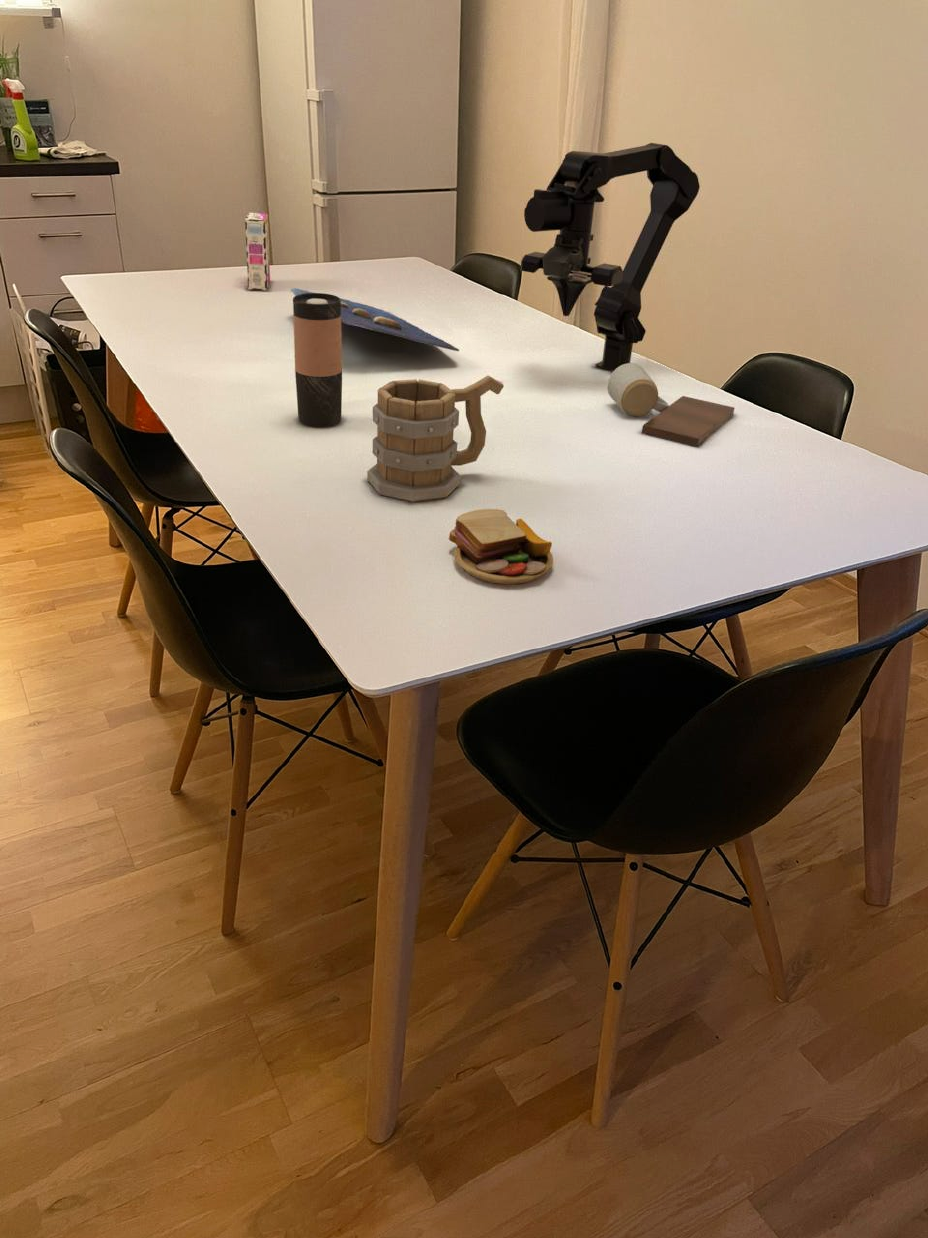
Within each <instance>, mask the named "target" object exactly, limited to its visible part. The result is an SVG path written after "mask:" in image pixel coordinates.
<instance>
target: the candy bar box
mask: <svg viewBox="0 0 928 1238" xmlns="http://www.w3.org/2000/svg"><path fill="white" fill-rule="evenodd" d="M244 227H245V228H244V229H245V243H246V244H245V247H246V248H245V249H246V266H247V267H246V268H247V269H246V271H247V290H248V291H257V292H259V291H262V292H267V291H268V289H269V286H270V282H271V269H270V268H271V265H270V242H269V241H270V239H269V235H270V234H269V214H268V213H263V212H248V214H247V215H246V216H245V219H244Z"/></svg>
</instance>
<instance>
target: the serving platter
mask: <svg viewBox="0 0 928 1238" xmlns="http://www.w3.org/2000/svg"><path fill="white" fill-rule="evenodd" d="M289 292H292V294H293V295H294V297H295V296H296V295H300V294H306V293H314V291H309V290H305V289H300V288H295V287H294V288H290V289H289ZM339 298H340V300H341V323H344V324H346V325H349V326H355V327H359V328H362V329H363V328H364V329H367V330H370V331H375V332H379V333H382V334H383V333H384V334H388V335H390V336H394V337H395V336H396V337H399V338H403V339H406V340H410V341H414V342H417V343H421V344H425V345H430V346H433V347H438V348H442V349H447V350H450V351H454V352H460V349H459V348H457V347H455V346H454V345H452V344H451V343H449V342H447V341H445V340H443V339H441V338H439V337H437V336H435V335H433V334H431V333H429V332H428V331H425V330H423V329H422V328H420V327H418V326H416V325H414V324H412V323H411V322H408V321H407V320H406V319H403V318H401V317H399V316H397V315H394V314H393V313H390V312H387V311H386V310H384V309H382V308H381V309H380V308H377V307H374V306H370V305H368V304H364V303H362V302H361V303H360V302H357V301H351V300H349V299H345V298H341V297H339Z"/></svg>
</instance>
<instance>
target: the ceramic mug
mask: <svg viewBox="0 0 928 1238" xmlns="http://www.w3.org/2000/svg"><path fill="white" fill-rule="evenodd" d="M607 392H608V395H609V397H610V398H611V400H612V401H613V402H614V403H615V404H616V406H618V407H619V408H620V409H621V410H622V411H623V412H624V413H625V414H627V415H629V416H631V417H632V416H633V417H642V416H645V415H646V414H649V413H650V412H652V411H653V410H654V411H656V412H659V413H660V412H661V411H663V410H664V409H666V408H667V407H668V406H670V404H669V403H668V402H667V401H666V400H664V399H663V398H662V397H661V396H659V389H658V386H657V384H656V382H655V380H653V379H652V377H651V376H650V375H649V374H648V372H647V370H645V369H644V368H643V367H642V366H641V365H639V364H638V363H634V362H630V363H628V364H623V365H621V366H619V367H618V368H617V369H615V370H614V371H612V373H611V374H610V376H609V378H608V381H607Z"/></svg>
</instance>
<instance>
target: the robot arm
mask: <svg viewBox="0 0 928 1238" xmlns="http://www.w3.org/2000/svg"><path fill="white" fill-rule="evenodd" d="M642 172H646V177H647V179H648V180H649V182H650V183H651V185H652V188H651V190H650V194H649V200H650V204H649V205H650V211H649V213H648V215H647V218H646V220H645V223H644V224H643V227H642V229H641V231H640V233H639V235H638V238H637V240H636V242H635V244H634V246H633V248H632V251H631V253H630V254H629V257H628V259H627V261H626V263H625V265H624V268H622V266H621V265H616V264H610V263H605V262H604V263H602V264H598V265H596V266H590V264H591V260H592V259H591V257H589V254H590V245H591V242H592V241H594V234H592V230H593V229H592V228H593V221H594V213H595V212H594V211H595V204H596V203H604V201H605V197H604V196H603V195H602V194H601V192H600V191H599V189H600V188H602V187H604V186H606V185H607V184H608V183H609V182H610V181H611V180H612V179H614V178H619V177H624V176H628V175H633V174H638V173H642ZM700 187H701V185H700V181H699V177H698V175H697V173H696V172H695V171H693V170H692V169H691V167H690V166H689V165H688V164H687V163H685V162H684V161H683V160H682V159H681V158H680V157H678V156H677V155H676V153H675V152H674V150H673V149H672V148H671V147H670V146H669V145H667V144H663V143H657V142H649V143H648V144H645V145H640V146H635V147H631V148H625V149H620V150H613V151H609V152H603V153H601V152H590V151H580V150H571V151H569V152H567V153H566V154H565V155H564V158H563V160H562V162H561V163H560V166H559V167H558V169H557V170H556V172H555V174H554V175H553V177H552V179H551V181H550V182H549V184H548V185H547V187H546V189H540V188H537V189H534V190H533V196H532V197H531V198H530V199H529V200H528V201H527V202H526V206H525V208H524V210H523V212H524V213H523V217H524V222H525V226H526V228H528V230H529V231H531V232H533V233H539V232H553V231H559V233H558V234H556V237H555V240H554V244H553V246H552V247H550V248H549V249H548V251H546V253H545V252H539V251H533V252H530V253H527V254H524V256H523V257H522V258H521V260H520V271H521V272H526V273H532V274H534V273H536V272H537V271H539V269H542V271H543V275H544V276H546V278H547V280H548V281H549V282H551V283H552V284H553V285H554V287H555V289H556V291H557V295H558V299H559V303H560V307H561V311H562V316H563V317H569V316H570V315H571V313H572V311H573V309H574V307H575V305H576V303H577V302H578V300H579V297H580V296H581V294H582V293H583V291H584V290H585V288H586V287H587V285H588V284H591V283H593V285H598V286H603V287H602V289H601V291H600V294H599V297H598V299H597V300H596V302H595V303H594V306H595V308H594V312H593V316H594V321H595V325H596V333H597V334H600V335H604V336H605V337H604V343H603V344H604V345H603V351H602V352H603V353H602V358H601V359H602V360H601V361H599V362H597V363H596V364H595V368H599V369H603V370H607V371H612V372H614V370H615V369H617V368H618V367H619V366H621V365H623V364H628V363H631V359H632V354H633V346H634V344H638V343H639V342H642V341H644V340H643V339H644V338H645V335H646V332H647V331H646V328H645V327H644V325H643V324H642V322H641V321H640V319H639V317H640V313H641V310H642V295H641V293H642V290H643V288H644V286H645V284H646V282H647V280H648V278H649V275H650V273H651V271H652V269H653V267H654V265H655V263H656V261H657V259H658V256H659V254H660V252H661V250H662V248H663V245H664V243H665V242H666V239H667V237H668V235H669V233H670V231H671V229H672V226H673V225H674V223H675V222H676V220H678V219H679V218H680V217H682V216H683V215H684V214H685V213H686V212H687V211H688V210H689V209H690V208H691V206H692V204H693V203H694V201H695V199H696V198H697V196H698V194H699V191H700Z"/></svg>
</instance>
